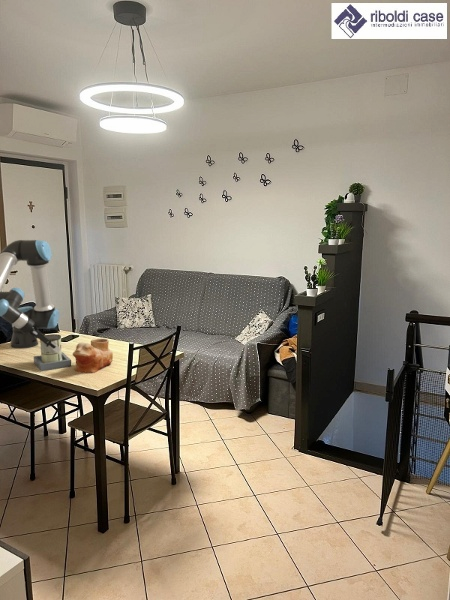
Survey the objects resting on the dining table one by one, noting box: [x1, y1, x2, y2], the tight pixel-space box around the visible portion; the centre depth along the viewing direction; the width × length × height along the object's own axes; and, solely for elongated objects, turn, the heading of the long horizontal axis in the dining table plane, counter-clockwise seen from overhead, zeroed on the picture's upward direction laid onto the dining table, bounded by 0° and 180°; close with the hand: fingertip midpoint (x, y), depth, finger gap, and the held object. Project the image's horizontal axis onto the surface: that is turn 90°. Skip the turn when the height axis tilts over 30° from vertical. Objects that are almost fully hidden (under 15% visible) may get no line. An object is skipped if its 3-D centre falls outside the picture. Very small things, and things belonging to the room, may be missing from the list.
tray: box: [33, 351, 72, 372], centre depth 234 cm, size 17×15×4 cm
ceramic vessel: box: [72, 338, 114, 374], centre depth 229 cm, size 14×26×15 cm, turn 161°
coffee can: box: [39, 333, 63, 363], centre depth 233 cm, size 10×10×14 cm
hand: (56, 348), depth 234 cm, fingers open, 13 cm apart
